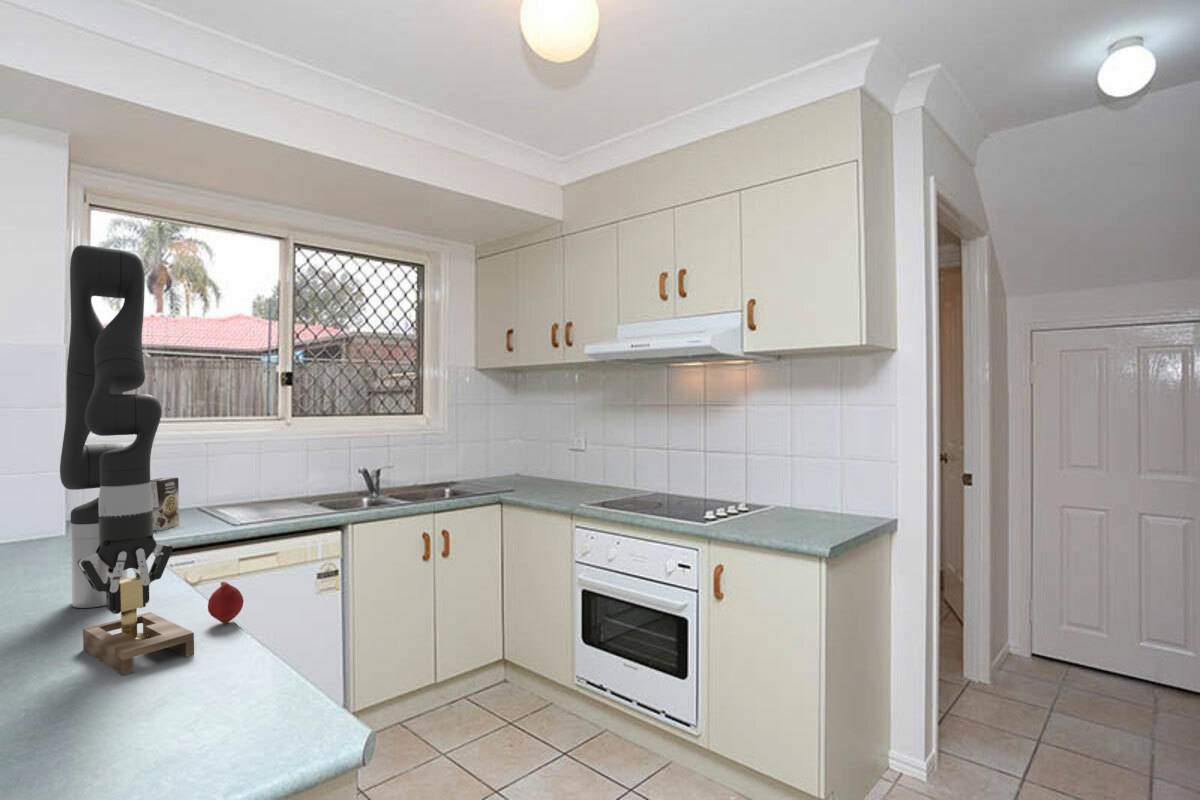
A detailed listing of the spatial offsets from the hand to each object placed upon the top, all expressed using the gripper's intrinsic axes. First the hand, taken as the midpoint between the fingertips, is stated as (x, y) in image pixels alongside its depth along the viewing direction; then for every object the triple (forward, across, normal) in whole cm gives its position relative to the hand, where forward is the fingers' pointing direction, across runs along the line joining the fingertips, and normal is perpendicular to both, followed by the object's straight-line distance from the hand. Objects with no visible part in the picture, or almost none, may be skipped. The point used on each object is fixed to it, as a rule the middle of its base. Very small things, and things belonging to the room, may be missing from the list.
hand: (128, 609), depth 111 cm
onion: (+7, -15, +2) cm, 17 cm away
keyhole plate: (+6, 0, +4) cm, 8 cm away
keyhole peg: (+6, 0, 0) cm, 6 cm away
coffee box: (+7, -45, -110) cm, 119 cm away
